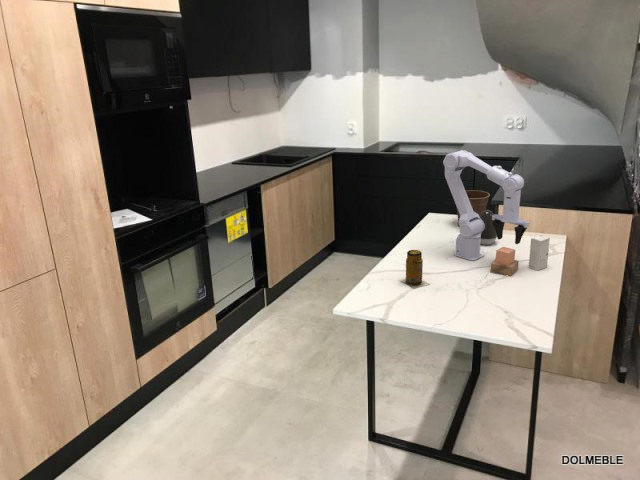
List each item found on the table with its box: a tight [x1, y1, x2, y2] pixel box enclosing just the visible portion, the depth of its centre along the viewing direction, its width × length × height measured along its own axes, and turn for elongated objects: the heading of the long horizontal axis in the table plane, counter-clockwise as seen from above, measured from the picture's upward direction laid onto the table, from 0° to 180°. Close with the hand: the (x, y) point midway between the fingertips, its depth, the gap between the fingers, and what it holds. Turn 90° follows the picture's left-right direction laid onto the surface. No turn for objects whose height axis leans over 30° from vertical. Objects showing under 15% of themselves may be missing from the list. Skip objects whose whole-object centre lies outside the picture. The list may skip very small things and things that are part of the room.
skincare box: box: [528, 235, 551, 271], centre depth 194 cm, size 6×4×12 cm
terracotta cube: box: [495, 246, 516, 266], centre depth 192 cm, size 5×5×5 cm
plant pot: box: [456, 189, 491, 228], centre depth 245 cm, size 16×16×16 cm
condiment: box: [400, 249, 430, 289], centre depth 186 cm, size 7×8×12 cm
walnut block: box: [489, 258, 520, 277], centre depth 194 cm, size 8×8×4 cm
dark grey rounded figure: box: [479, 209, 497, 246], centre depth 222 cm, size 10×10×15 cm
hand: (508, 241), depth 195 cm, fingers open, 7 cm apart
